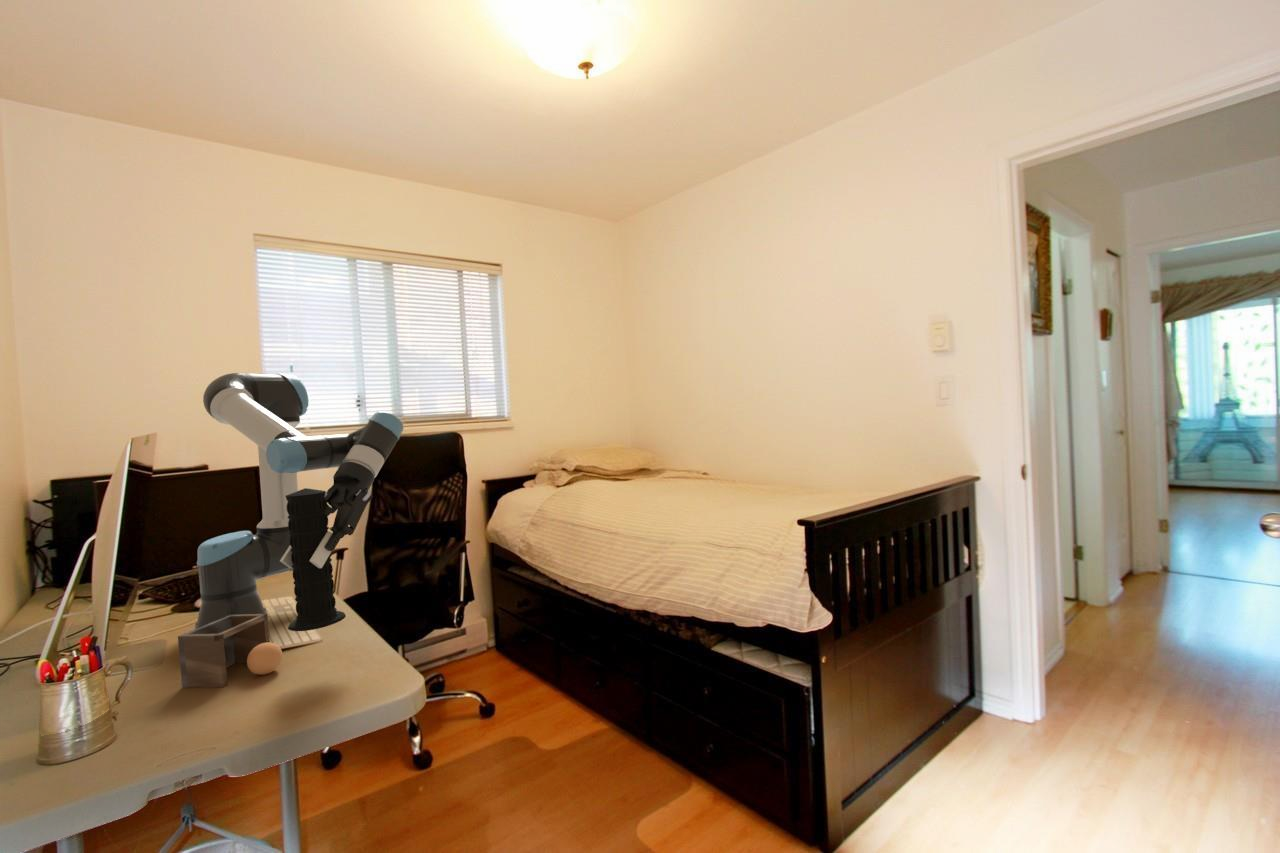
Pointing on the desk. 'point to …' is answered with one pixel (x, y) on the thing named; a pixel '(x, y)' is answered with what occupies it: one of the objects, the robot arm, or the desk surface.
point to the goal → (219, 648)
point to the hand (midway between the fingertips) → (300, 564)
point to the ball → (264, 658)
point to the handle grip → (309, 579)
